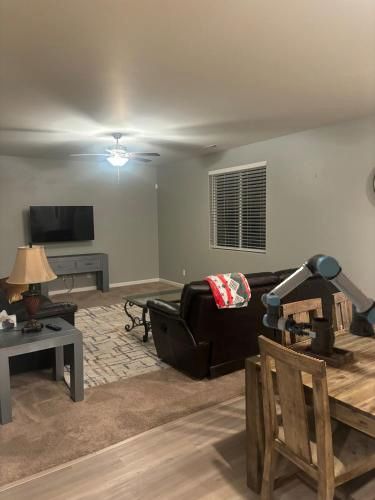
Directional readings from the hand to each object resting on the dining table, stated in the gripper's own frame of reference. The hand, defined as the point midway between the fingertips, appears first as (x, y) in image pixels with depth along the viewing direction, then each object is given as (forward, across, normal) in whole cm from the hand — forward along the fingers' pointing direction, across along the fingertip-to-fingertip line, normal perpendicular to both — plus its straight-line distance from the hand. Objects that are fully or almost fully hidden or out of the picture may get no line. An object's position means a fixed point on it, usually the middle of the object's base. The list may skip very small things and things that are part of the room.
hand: (321, 332), depth 201 cm
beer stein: (+2, 0, -13) cm, 13 cm away
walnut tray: (+2, 0, -14) cm, 14 cm away
